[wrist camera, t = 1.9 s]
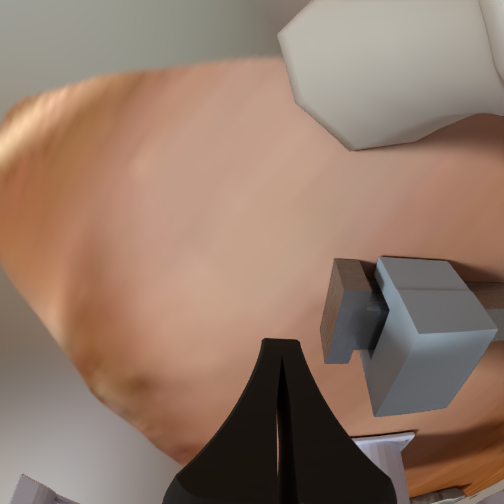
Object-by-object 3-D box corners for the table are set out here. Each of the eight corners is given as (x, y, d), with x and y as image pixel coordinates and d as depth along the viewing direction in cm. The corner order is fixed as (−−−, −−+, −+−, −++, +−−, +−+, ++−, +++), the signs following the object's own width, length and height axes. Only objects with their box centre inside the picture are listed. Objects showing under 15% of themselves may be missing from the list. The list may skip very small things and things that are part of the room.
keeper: (417, 336, 16) (446, 407, 12) (355, 337, 16) (373, 417, 12) (447, 260, 14) (498, 328, 9) (379, 255, 14) (418, 334, 9)
